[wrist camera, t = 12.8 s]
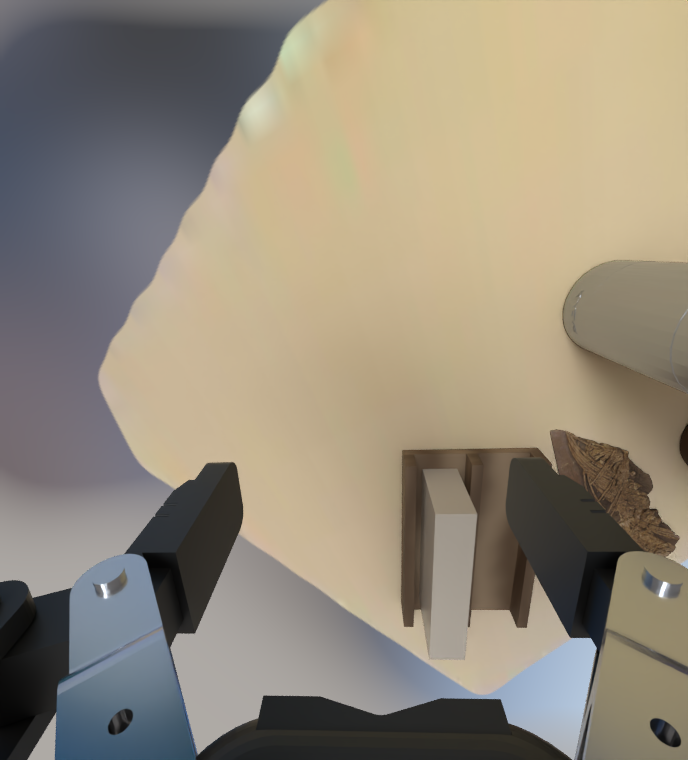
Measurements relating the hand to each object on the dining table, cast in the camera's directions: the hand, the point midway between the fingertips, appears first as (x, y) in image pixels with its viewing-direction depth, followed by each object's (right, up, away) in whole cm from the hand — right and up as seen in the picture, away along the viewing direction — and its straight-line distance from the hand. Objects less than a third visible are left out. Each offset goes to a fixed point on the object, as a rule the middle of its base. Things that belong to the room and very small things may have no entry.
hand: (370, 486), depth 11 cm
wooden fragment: (+31, -12, +35) cm, 49 cm away
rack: (+15, -16, +37) cm, 43 cm away
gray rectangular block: (+11, -17, +36) cm, 41 cm away
